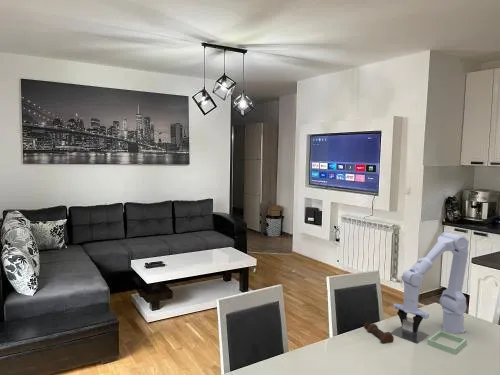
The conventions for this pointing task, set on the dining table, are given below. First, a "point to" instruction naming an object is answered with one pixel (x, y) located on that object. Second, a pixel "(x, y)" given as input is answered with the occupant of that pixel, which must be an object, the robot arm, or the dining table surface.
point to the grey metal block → (408, 327)
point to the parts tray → (446, 348)
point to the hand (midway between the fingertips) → (409, 329)
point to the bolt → (379, 333)
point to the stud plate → (415, 339)
